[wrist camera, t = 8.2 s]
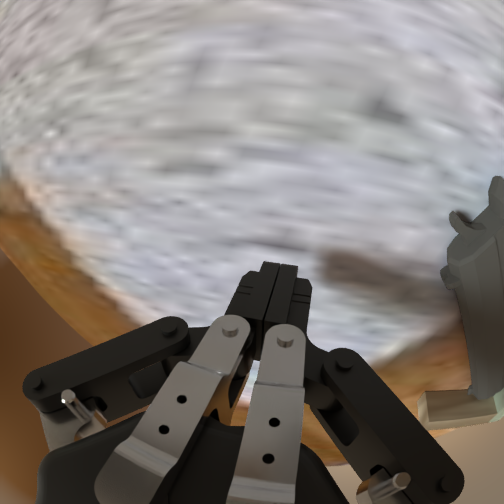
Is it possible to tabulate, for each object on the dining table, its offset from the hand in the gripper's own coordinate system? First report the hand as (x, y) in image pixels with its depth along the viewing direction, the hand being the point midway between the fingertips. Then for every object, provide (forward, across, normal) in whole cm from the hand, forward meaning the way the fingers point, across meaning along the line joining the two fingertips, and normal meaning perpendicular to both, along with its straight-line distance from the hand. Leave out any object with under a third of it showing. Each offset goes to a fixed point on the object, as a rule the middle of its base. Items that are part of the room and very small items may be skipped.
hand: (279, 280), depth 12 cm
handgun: (+3, -16, 0) cm, 17 cm away
